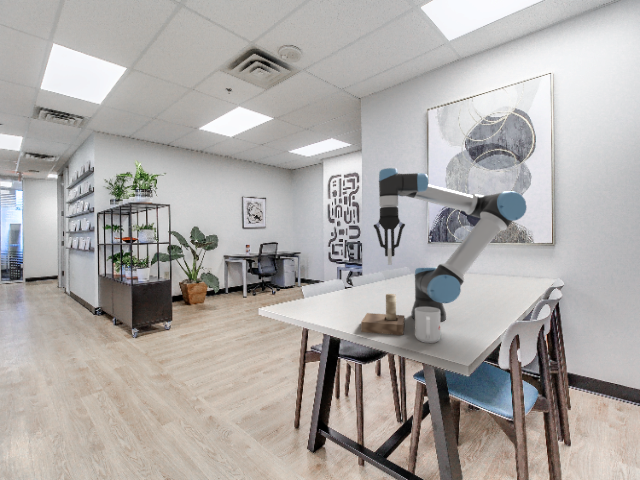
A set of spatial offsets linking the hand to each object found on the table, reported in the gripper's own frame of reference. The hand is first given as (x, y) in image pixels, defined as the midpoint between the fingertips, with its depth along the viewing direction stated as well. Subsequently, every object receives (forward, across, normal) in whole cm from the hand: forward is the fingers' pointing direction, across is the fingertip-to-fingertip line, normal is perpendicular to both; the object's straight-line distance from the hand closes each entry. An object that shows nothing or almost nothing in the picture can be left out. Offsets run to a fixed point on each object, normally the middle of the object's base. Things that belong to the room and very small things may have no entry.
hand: (390, 264), depth 132 cm
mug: (+27, -14, +14) cm, 33 cm away
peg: (+26, 0, +2) cm, 26 cm away
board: (+26, +3, +2) cm, 26 cm away
